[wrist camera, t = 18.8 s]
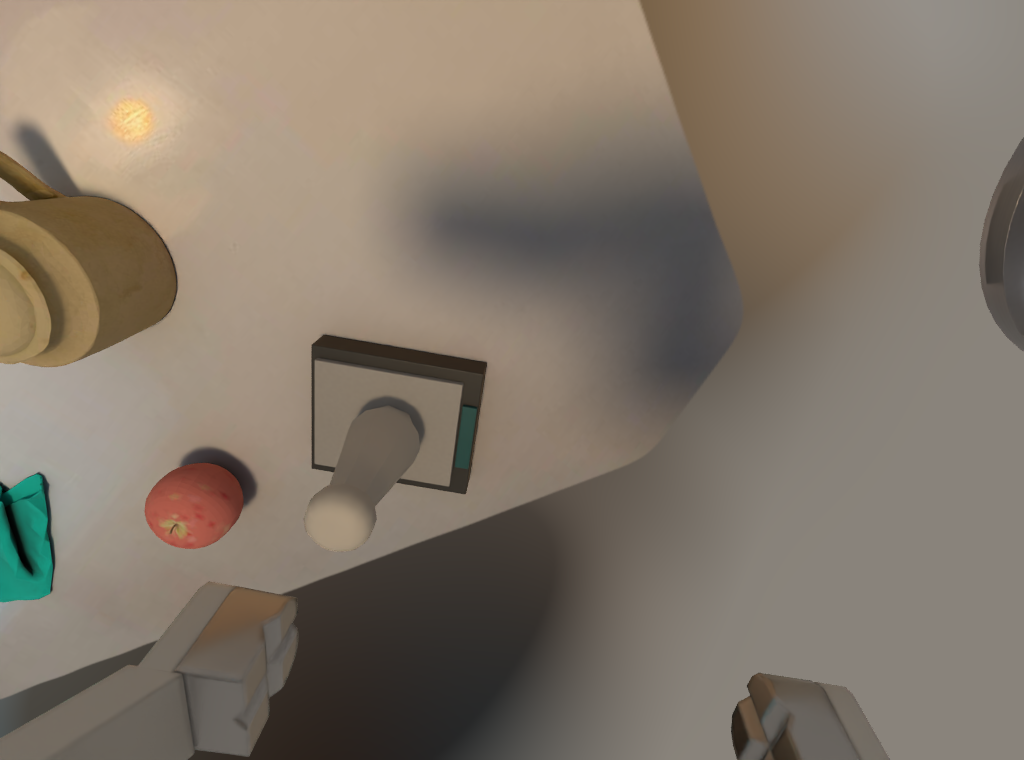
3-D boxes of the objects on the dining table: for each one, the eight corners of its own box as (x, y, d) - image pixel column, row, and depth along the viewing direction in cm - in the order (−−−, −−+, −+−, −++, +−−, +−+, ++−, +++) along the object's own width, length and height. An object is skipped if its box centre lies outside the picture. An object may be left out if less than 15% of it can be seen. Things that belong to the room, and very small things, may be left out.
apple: (220, 434, 49) (163, 485, 41) (273, 491, 51) (228, 548, 44) (167, 467, 51) (103, 521, 43) (220, 520, 53) (168, 580, 46)
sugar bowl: (-25, 223, 42) (-304, 261, 28) (37, 120, 38) (-246, 106, 25) (135, 355, 46) (-41, 444, 32) (205, 272, 42) (41, 332, 29)
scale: (487, 362, 44) (482, 377, 41) (469, 478, 49) (464, 498, 46) (323, 334, 44) (307, 347, 41) (322, 453, 49) (308, 472, 46)
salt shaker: (413, 390, 42) (361, 485, 30) (434, 450, 44) (393, 560, 32) (347, 403, 43) (271, 501, 31) (370, 461, 45) (308, 573, 33)
